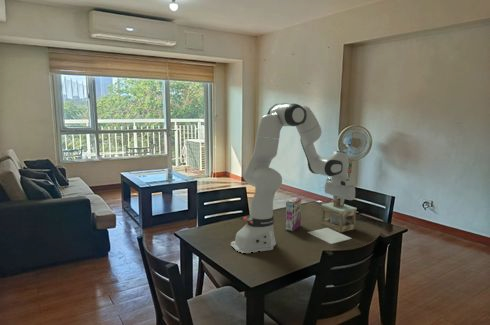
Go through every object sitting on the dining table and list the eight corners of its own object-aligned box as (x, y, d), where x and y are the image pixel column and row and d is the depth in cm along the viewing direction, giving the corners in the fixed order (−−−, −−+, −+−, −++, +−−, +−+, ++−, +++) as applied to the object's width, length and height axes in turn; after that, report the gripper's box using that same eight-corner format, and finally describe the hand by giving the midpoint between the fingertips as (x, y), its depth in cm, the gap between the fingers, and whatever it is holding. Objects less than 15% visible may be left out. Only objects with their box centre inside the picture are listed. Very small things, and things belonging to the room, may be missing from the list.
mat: (330, 244, 164) (330, 243, 164) (307, 232, 179) (307, 232, 179) (351, 239, 170) (351, 238, 170) (327, 228, 186) (327, 227, 186)
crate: (340, 232, 179) (341, 212, 178) (321, 224, 192) (321, 206, 191) (355, 229, 184) (355, 209, 183) (335, 221, 198) (336, 203, 196)
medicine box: (344, 225, 190) (344, 211, 189) (345, 228, 186) (346, 213, 184) (330, 225, 191) (330, 210, 190) (331, 228, 187) (331, 213, 185)
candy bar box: (293, 231, 181) (294, 202, 179) (285, 230, 184) (285, 201, 181) (301, 225, 191) (301, 197, 188) (292, 224, 193) (293, 196, 191)
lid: (340, 214, 177) (341, 205, 176) (321, 207, 191) (321, 198, 190) (356, 211, 183) (357, 202, 182) (336, 204, 196) (336, 195, 196)
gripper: (322, 177, 192) (321, 200, 194) (349, 184, 174) (347, 209, 176) (330, 176, 195) (329, 199, 197) (357, 182, 177) (356, 208, 179)
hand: (338, 204), depth 186 cm, fingers closed on lid
